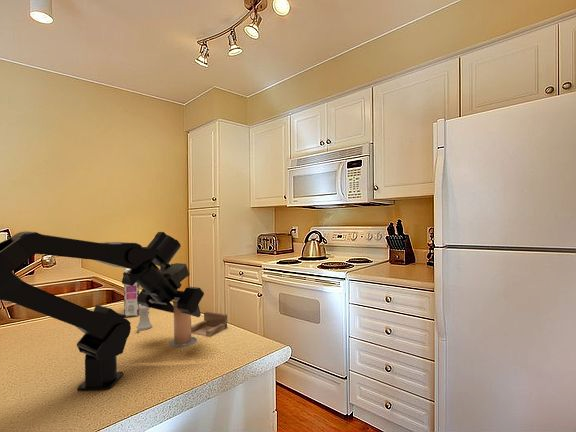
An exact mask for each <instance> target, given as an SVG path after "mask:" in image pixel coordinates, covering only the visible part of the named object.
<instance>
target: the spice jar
mask: <svg viewBox="0 0 576 432" xmlns="http://www.w3.org/2000/svg"><path fill="white" fill-rule="evenodd" d="M172 301H173V302H172V305H173V306H174V313H173V339H174V343H175V344H186V343H189V342H190V341H191V337H192V333H191V326H192V315H188V314H184V313H181V312H182V311H180V310H178V309H177V302H178V301H177V300H172Z"/></svg>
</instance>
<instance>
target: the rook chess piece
mask: <svg viewBox="0 0 576 432" xmlns="http://www.w3.org/2000/svg"><path fill="white" fill-rule="evenodd" d="M138 309H139V320H138V325H137V326H136V333H138V334H139V333H141V331H145V330H149V329H151V328H152V327H153V325H152V323H151V321H150V318H149V314H150V312H149V309H150V308H149V307H146V306H141V305H140V304H139V308H138Z"/></svg>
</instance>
